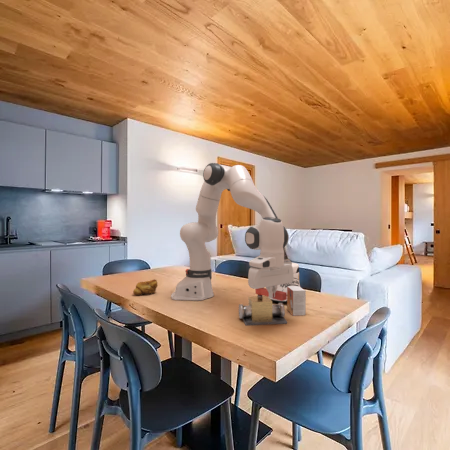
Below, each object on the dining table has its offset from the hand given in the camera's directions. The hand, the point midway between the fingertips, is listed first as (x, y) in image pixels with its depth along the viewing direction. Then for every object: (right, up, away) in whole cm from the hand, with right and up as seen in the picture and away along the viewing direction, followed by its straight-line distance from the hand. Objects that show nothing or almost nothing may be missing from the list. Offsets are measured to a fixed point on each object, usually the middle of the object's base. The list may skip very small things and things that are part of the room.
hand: (271, 297), depth 105 cm
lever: (0, -1, +4) cm, 4 cm away
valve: (-3, -11, +8) cm, 14 cm away
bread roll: (-62, -11, +49) cm, 80 cm away
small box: (+13, -11, +15) cm, 23 cm away
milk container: (+11, -11, +34) cm, 37 cm away
